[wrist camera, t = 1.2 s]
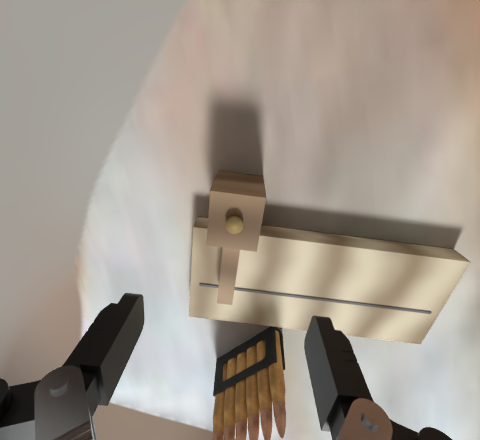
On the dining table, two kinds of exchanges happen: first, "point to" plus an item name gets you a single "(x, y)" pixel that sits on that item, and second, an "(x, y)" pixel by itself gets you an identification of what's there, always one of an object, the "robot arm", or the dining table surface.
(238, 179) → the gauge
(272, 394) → the ammunition clip
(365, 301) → the board
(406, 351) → the dining table surface
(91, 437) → the robot arm
